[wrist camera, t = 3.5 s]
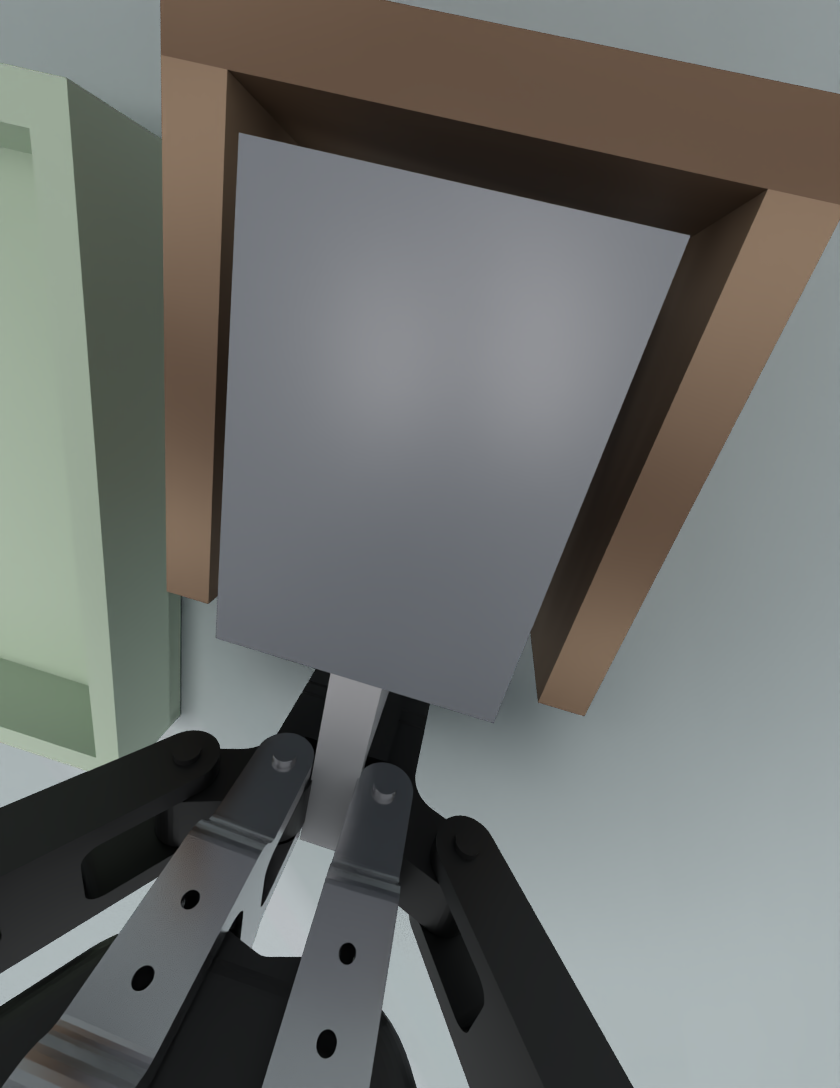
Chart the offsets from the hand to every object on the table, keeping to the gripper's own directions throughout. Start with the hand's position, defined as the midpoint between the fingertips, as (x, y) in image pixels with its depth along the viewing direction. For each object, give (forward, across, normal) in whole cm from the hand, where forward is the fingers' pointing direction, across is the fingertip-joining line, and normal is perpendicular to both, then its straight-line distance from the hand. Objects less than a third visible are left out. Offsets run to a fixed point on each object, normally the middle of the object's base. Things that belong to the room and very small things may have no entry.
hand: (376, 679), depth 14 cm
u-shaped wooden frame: (+1, 0, -8) cm, 8 cm away
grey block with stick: (+1, 0, -8) cm, 8 cm away
